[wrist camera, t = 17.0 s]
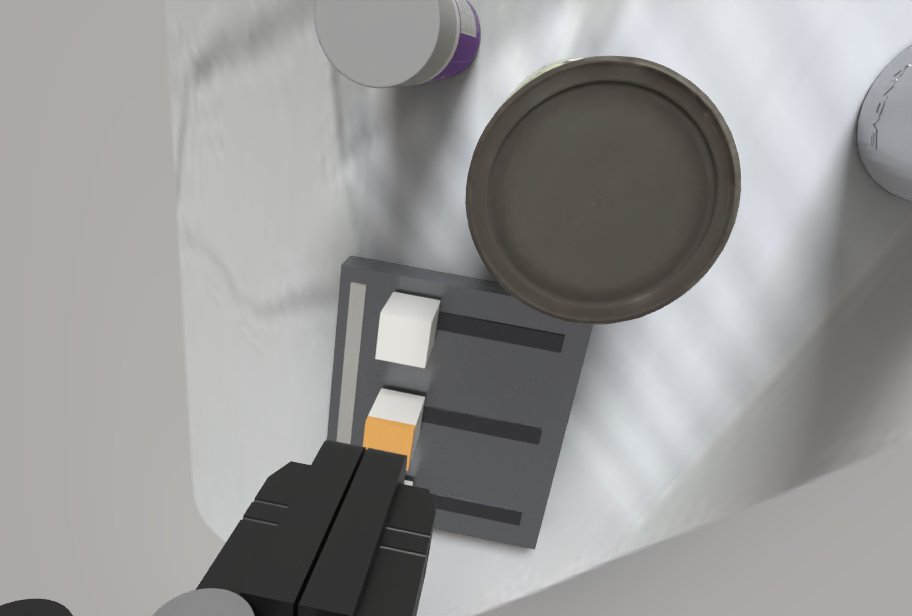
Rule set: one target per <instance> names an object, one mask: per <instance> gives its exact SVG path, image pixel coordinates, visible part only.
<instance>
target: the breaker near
mask: <svg viewBox="0 0 912 616" xmlns="http://www.w3.org/2000/svg"><path fill="white" fill-rule="evenodd" d="M440 301H441V300H436V299H430V298H425V297H420V296H414V295H409V294H403V293H398V292H393V293H392V295H391V296H390V298H389V300H388V301H387V303H386V304H385V306H384V308H383V309H382V311H381V313H380V320H379V329H378V338H377V347H376V356H375V359H379V360H384V361H389V362H394V363H399V364H405V365H410V366H415V367H420V368H425V367H426V364H427V361H428V359H429V356H430V353H431V350H432V348H433V345H434V341H435V334H436V327H437V321H438V314H439V308H440Z"/></svg>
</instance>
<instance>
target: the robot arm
mask: <svg viewBox="0 0 912 616" xmlns="http://www.w3.org/2000/svg"><path fill="white" fill-rule="evenodd" d="M857 142H858V148H859V153H860V157H861V160H862V162H863V164H864V166H865V168H866V171H867V172H868V173H869V174H870V176H871V177H872V178H873V179H874V181H875V182H876V183H877V184H878V185H880V186H881V187H883V188H884V189H885V190H887V191H888V192H890V193H891V194H894V195H896V196H899V197H901V198H904V199H906V200H909V201H911V202H912V45H911V46H909V47H908V48H906V49H905V50H903V51H902V52H901V53H900V54H899V55H898V56H897V57H896V58H894V59H893V60H892V61H891V62H890V63H889V64H888V65H887V66H886V67H885V68H884V70H883V71H882V72H881V74H880V75H879V76H878V78H877V79H876V80H875V82H874V83H873V84H872V86H871V88H870V90H869V92H868V94H867V96H866V98H865V100H864V102H863V106H862V109H861V113H860V117H859V120H858V132H857ZM406 467H407V455H403V454H398V453H393V452H388V451H383V450H378V449H373V448H368V449H367V450H366V447H362V446H357V445H352V444H347V443H342V442H337V441H332V440H326V441H325V442H324V443H323V445H322V447H321V448H320V450H319V452H318V454H317V456H316V457H315V459H314V461H313V463H312V465H306V464H301V463H297V462H292V461H291V462H290V463H288V464H287V465H285V466H284V467H282V468H281V469H279V470H278V471H276V472H275V473H274V474H272V475H271V476H269V477H268V478H267V480H266V481H265V483H264V485H263V486H262V488H261V489H260V491H259V492H258V494H257V495H256V497H255V500H254V502H252V503H251V505H250V506H249V508H248V509H247V511H246V513H245V514H244V517H243V520H240V522H239V523H238V525H237V526H236V528H235V530H234V531H233V533H232V534H231V536H230V537H229V539H228V540H227V542H226V544H225V545H224V547H223V548H222V550H221V551H220V553H219V554H218V556H217V558H216V559H215V561H214V562H213V564H212V565H211V567H210V568H209V570H208V572H207V573H206V575H205V576H204V578H203V579H202V581H201V582H200V584H199V586H198V587H197V588H196V590H193V591H190V592H187V593H184V594H182V595H179V596H177V597H175V598H173V599H172V600H170V601H169V602H167V603H165V604H164V605H163V606H162V607H161V608H159V609H158V610H157V611H156V612H155V614H154V615H153V616H416V614H417V610H418V605H419V601H420V596H421V592H422V587H423V582H424V578H425V573H426V567H427V561H428V555H429V550H430V544H431V538H432V532H433V526H434V521H435V515H436V510H435V506H434V503H433V500H432V497H431V494H430V491H429V489H425V488H420V487H415V486H410V485H405V484H404V481H405V474H406ZM0 616H73V615H72V614H71V613H70V611H69V610H68V609H67V608H66V607H65V606H63V605H61V604H59V603H57V602H55V601H51V600H46V599H26V600H19V601H14V602H11V603H7V604H4V605H1V606H0Z"/></svg>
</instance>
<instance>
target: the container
mask: <svg viewBox="0 0 912 616" xmlns="http://www.w3.org/2000/svg"><path fill="white" fill-rule="evenodd" d="M315 26H316V32H317V36H318V39H319V42H320V45H321V47H322V49H323V51H324V53H325V55H326V56H327V58H328V59H329V61H330V62H331V63H332V65H333V66H334V67H335V68H336V69H337V70H338V71H339V72H340V73H341V74H343V75H344V76H345V77H347V78H348V79H350V80H352V81H353V82H356V83H358V84H360V85H363V86H367V87H372V88H389V87H401V86H415V85H420V84H424V83H428V82H432V81H437V80H441V79H445V78H449V77H452V76H455V75H457V74H459V73H460V72H462V71H463V70H465V69H466V68H467V67H468V66H469V65H470V63H471V62H472V61H473V59H474V57H475V56H476V54H477V51H478V48H479V44H480V38H481V29H480V23H479V19H478V16H477V14H476V12H475V10H474V8H473V7H472V5H471V4H470V3H469V2H468V1H467V0H316V3H315Z"/></svg>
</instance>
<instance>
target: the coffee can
mask: <svg viewBox="0 0 912 616" xmlns="http://www.w3.org/2000/svg"><path fill="white" fill-rule="evenodd" d="M740 193H741V171H740V162H739V157H738V152H737V149H736V146H735V142H734V139H733V136H732V133H731V131H730V129H729V127H728V125H727V124H726V122H725V120H724V118H723V116H722V115H721V113H720V112H719V110H718V109H717V107H716V106H715V104H714V103H713V102H712V101H711V100H710V99H709V97H708V96H707V95H706V94H705V93H704V92H703V91H701V90H700V89H699V88H698V87H697V86H696V85H695V84H693V83H692V82H691V81H689V80H688V79H686V78H685V77H683V76H682V75H680V74H678V73H677V72H675V71H673V70H671V69H669V68H667V67H665V66H663V65H660V64H657V63H655V62H652V61H648V60H644V59H641V58H635V57H624V56H596V57H589V58H575V59H567V60H563V61H559V62H555V63H553V64H550V65H548V66H545V67H543V68H541V69H540V70H538V71H536V72H535V73H533V74H532V75H530V76H529V77H528V78H527V79H525V80H524V81H523V82H522V83H520V84H519V86H518V87H517V88H516V89H515V90H514V91H513V92H512V93H511V95H510V96H509V97H508V99H507V100H506V102H505V103H504V104H503V105H502V106H501V107H500V108H499V109H498V111H497V112H496V113H495V115H494V116H493V117H492V119H491V120H490V122H489V123H488V125H487V126H486V128H485V129H484V131H483V133H482V135H481V137H480V139H479V141H478V143H477V146H476V148H475V151H474V154H473V157H472V160H471V164H470V168H469V172H468V178H467V186H466V212H467V219H468V225H469V229H470V232H471V236H472V239H473V242H474V244H475V246H476V249H477V251H478V253H479V255H480V257H481V259H482V261H483V262H484V264H485V266H486V267H487V269H488V270H489V272H490V273H491V274H492V276H493V277H494V278H495V279H496V280H497V282H498V283H499V284H500V285H501V286H502V287H503V288H504V289H505V290H506V291H507V292H508V293H510V294H511V295H512V296H513V297H515V298H516V299H517V300H519V301H520V302H522V303H523V304H525V305H527V306H529V307H530V308H532V309H534V310H536V311H539V312H541V313H543V314H545V315H548V316H551V317H553V318H557V319H561V320H564V321H568V322H574V323H582V324H610V323H617V322H622V321H627V320H632V319H636V318H640V317H642V316H645V315H647V314H650V313H652V312H655V311H657V310H659V309H661V308H663V307H664V306H666V305H668V304H670V303H671V302H673V301H675V300H676V299H678V298H679V297H681V296H682V295H683V294H685V293H686V292H687V291H689V290H690V289H691V288H692V287H693V286H694V285H695V284H696V283H698V282H699V280H700V279H701V278H702V277H703V276H704V275H705V274H706V273H707V272H708V271H709V269H710V268H711V267H712V265H713V264H714V263H715V261H716V260H717V258H718V257H719V255H720V254H721V252H722V251H723V249H724V247H725V245H726V243H727V241H728V239H729V236H730V234H731V231H732V229H733V226H734V224H735V220H736V216H737V212H738V208H739V202H740Z"/></svg>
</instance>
